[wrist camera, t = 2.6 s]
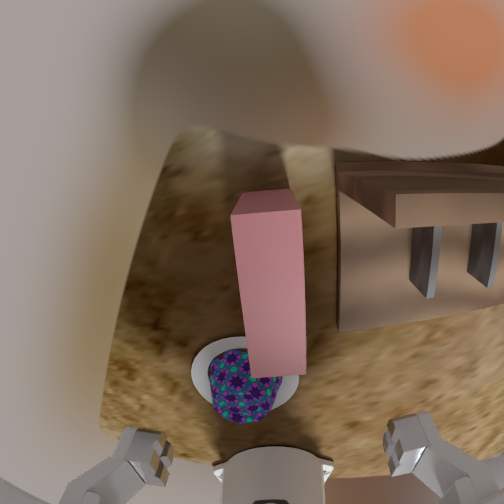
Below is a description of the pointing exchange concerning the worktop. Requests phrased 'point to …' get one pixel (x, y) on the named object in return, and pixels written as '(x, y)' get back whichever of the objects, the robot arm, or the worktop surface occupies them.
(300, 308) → the book
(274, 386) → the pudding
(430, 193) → the shelf stand
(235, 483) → the robot arm
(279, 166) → the worktop surface
